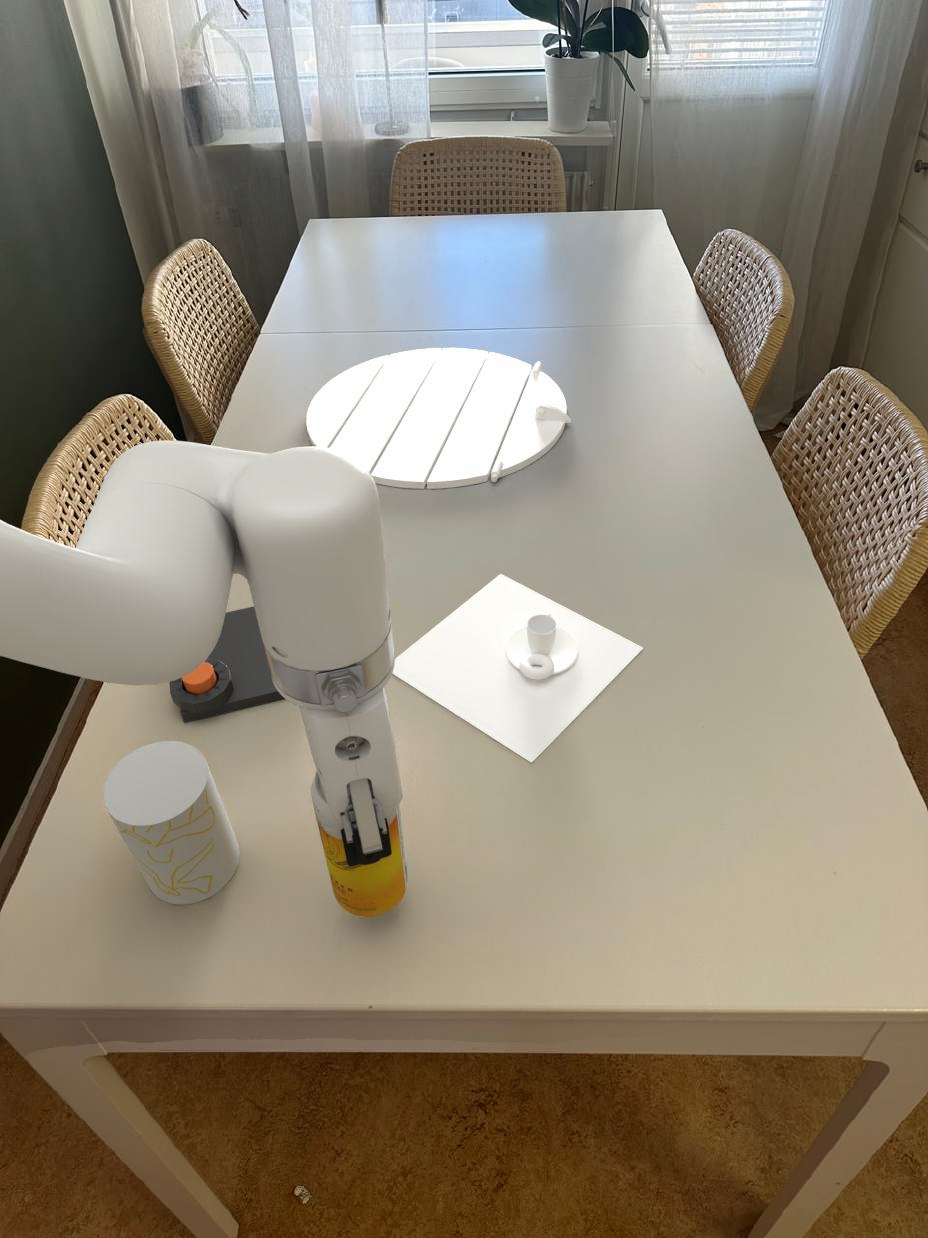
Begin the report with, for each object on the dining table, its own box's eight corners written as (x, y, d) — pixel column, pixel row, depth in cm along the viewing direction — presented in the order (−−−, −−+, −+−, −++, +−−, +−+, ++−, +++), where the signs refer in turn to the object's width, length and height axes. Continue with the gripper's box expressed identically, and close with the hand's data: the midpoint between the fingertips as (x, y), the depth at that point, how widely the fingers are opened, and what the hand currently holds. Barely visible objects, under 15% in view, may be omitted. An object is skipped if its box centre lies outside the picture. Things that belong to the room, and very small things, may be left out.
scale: (179, 728, 88) (171, 709, 86) (171, 633, 98) (164, 614, 96) (320, 694, 91) (315, 675, 89) (299, 605, 101) (294, 586, 99)
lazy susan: (589, 365, 141) (590, 345, 139) (546, 505, 114) (547, 483, 111) (357, 345, 149) (355, 326, 147) (265, 471, 122) (260, 450, 119)
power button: (186, 697, 88) (182, 687, 86) (184, 675, 90) (180, 665, 89) (217, 690, 88) (214, 679, 87) (215, 668, 90) (211, 658, 89)
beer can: (327, 865, 72) (301, 754, 62) (398, 846, 74) (384, 733, 63) (342, 931, 68) (317, 823, 58) (416, 909, 69) (405, 800, 59)
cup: (146, 915, 73) (101, 837, 65) (146, 835, 79) (104, 754, 71) (243, 890, 75) (211, 810, 66) (235, 813, 80) (205, 731, 72)
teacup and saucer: (544, 694, 90) (545, 667, 87) (485, 659, 94) (484, 632, 91) (592, 647, 94) (595, 620, 92) (534, 616, 98) (535, 589, 95)
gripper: (428, 741, 46) (439, 908, 59) (362, 549, 59) (383, 721, 71) (288, 775, 45) (330, 939, 57) (250, 570, 57) (291, 742, 69)
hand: (359, 817), depth 64 cm, fingers closed on beer can, 6 cm apart
